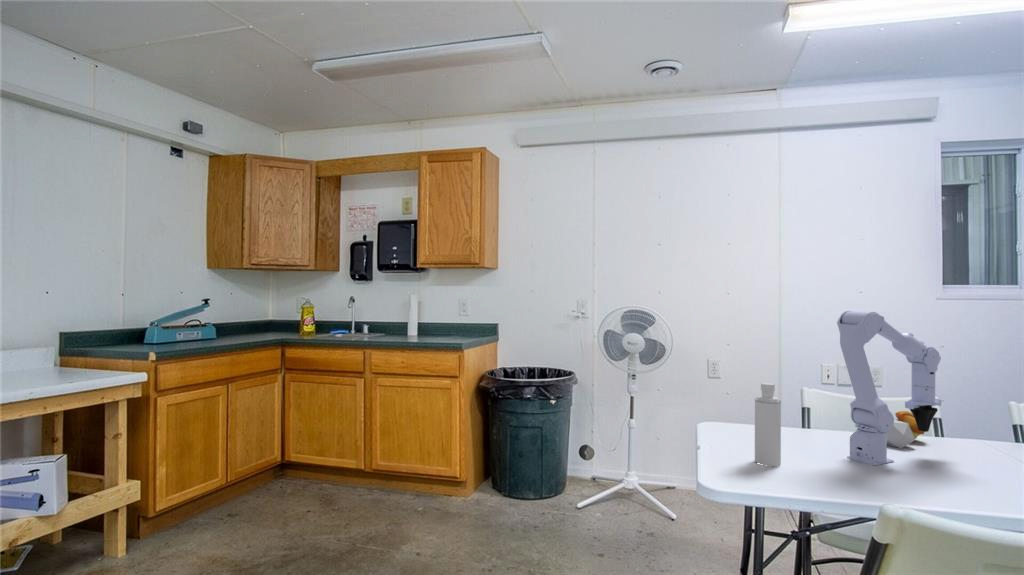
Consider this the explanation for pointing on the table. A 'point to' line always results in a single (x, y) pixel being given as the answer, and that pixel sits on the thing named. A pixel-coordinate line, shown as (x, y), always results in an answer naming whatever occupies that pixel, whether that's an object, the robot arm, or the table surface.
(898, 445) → the die
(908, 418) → the cheeseburger
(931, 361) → the robot arm
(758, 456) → the grey bottle
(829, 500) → the table surface
